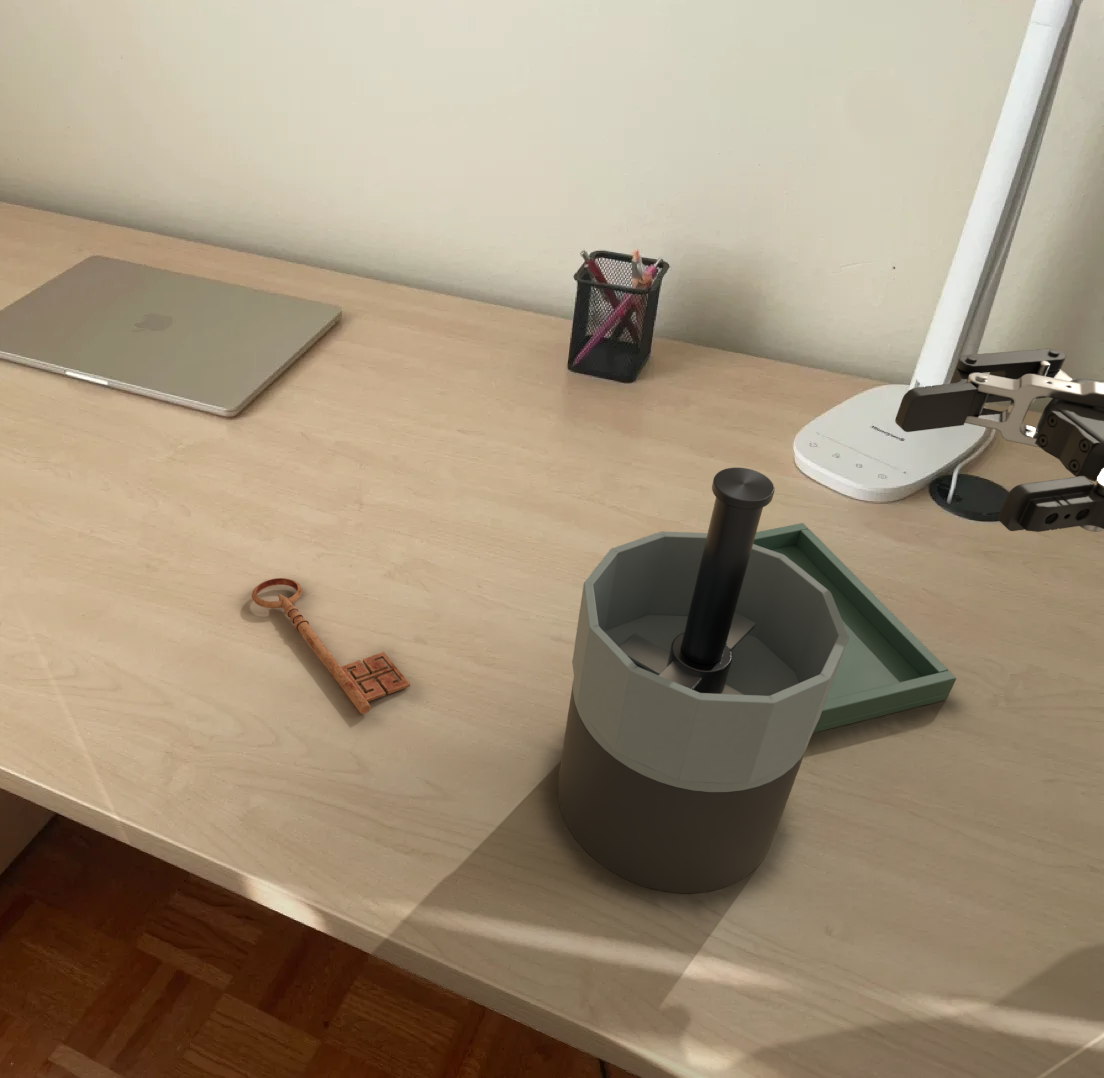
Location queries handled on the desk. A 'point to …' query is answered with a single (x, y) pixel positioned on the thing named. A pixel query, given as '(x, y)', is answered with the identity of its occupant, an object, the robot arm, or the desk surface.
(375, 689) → the key
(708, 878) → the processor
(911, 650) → the tray
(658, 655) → the blade
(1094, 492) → the robot arm
